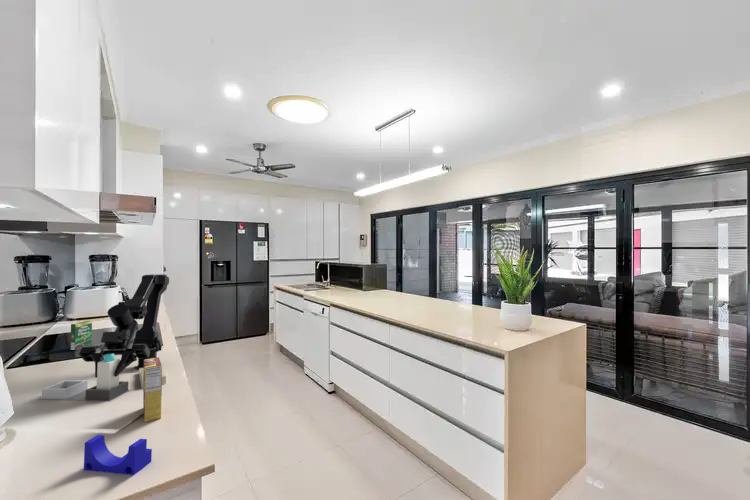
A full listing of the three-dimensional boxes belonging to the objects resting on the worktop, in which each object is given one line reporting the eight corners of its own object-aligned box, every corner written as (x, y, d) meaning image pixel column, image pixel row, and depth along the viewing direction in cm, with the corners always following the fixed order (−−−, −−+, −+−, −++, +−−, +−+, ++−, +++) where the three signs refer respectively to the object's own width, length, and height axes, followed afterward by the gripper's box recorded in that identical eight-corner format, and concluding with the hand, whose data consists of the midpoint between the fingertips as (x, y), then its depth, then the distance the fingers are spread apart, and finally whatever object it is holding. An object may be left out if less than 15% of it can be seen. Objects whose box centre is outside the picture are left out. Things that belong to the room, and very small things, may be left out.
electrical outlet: (161, 362, 130) (166, 375, 115) (160, 372, 129) (166, 387, 115) (139, 366, 125) (141, 379, 111) (138, 376, 125) (141, 392, 111)
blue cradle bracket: (151, 462, 73) (152, 435, 73) (134, 475, 68) (135, 446, 69) (103, 457, 74) (104, 431, 74) (83, 470, 70) (84, 442, 70)
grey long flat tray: (64, 390, 110) (65, 379, 110) (131, 392, 110) (132, 380, 110) (36, 402, 101) (37, 389, 101) (109, 404, 101) (109, 391, 101)
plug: (106, 392, 107) (108, 352, 108) (118, 392, 107) (120, 352, 108) (96, 397, 103) (97, 356, 104) (108, 397, 103) (110, 356, 104)
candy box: (141, 410, 97) (143, 359, 97) (159, 407, 99) (160, 356, 100) (142, 423, 90) (144, 367, 90) (161, 418, 92) (163, 364, 93)
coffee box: (74, 351, 155) (75, 323, 155) (69, 351, 155) (70, 323, 155) (92, 347, 162) (93, 320, 163) (87, 346, 163) (88, 320, 163)
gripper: (83, 322, 107) (59, 366, 96) (147, 320, 112) (131, 362, 101) (96, 340, 115) (74, 383, 104) (156, 337, 120) (141, 378, 109)
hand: (105, 376), depth 104 cm, fingers closed on plug, 5 cm apart
